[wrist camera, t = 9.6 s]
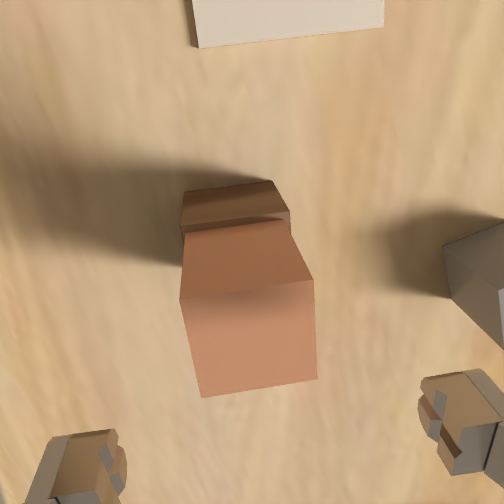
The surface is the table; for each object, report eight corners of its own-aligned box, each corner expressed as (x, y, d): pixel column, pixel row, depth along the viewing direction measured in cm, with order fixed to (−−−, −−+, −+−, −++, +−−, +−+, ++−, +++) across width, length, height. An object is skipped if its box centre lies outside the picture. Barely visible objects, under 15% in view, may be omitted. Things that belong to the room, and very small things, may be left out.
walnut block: (184, 192, 22) (180, 226, 18) (272, 180, 22) (289, 211, 18) (198, 269, 24) (197, 316, 20) (278, 258, 25) (295, 302, 20)
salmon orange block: (185, 232, 18) (179, 299, 13) (283, 219, 18) (313, 279, 13) (201, 313, 20) (201, 397, 15) (289, 300, 20) (317, 379, 15)
